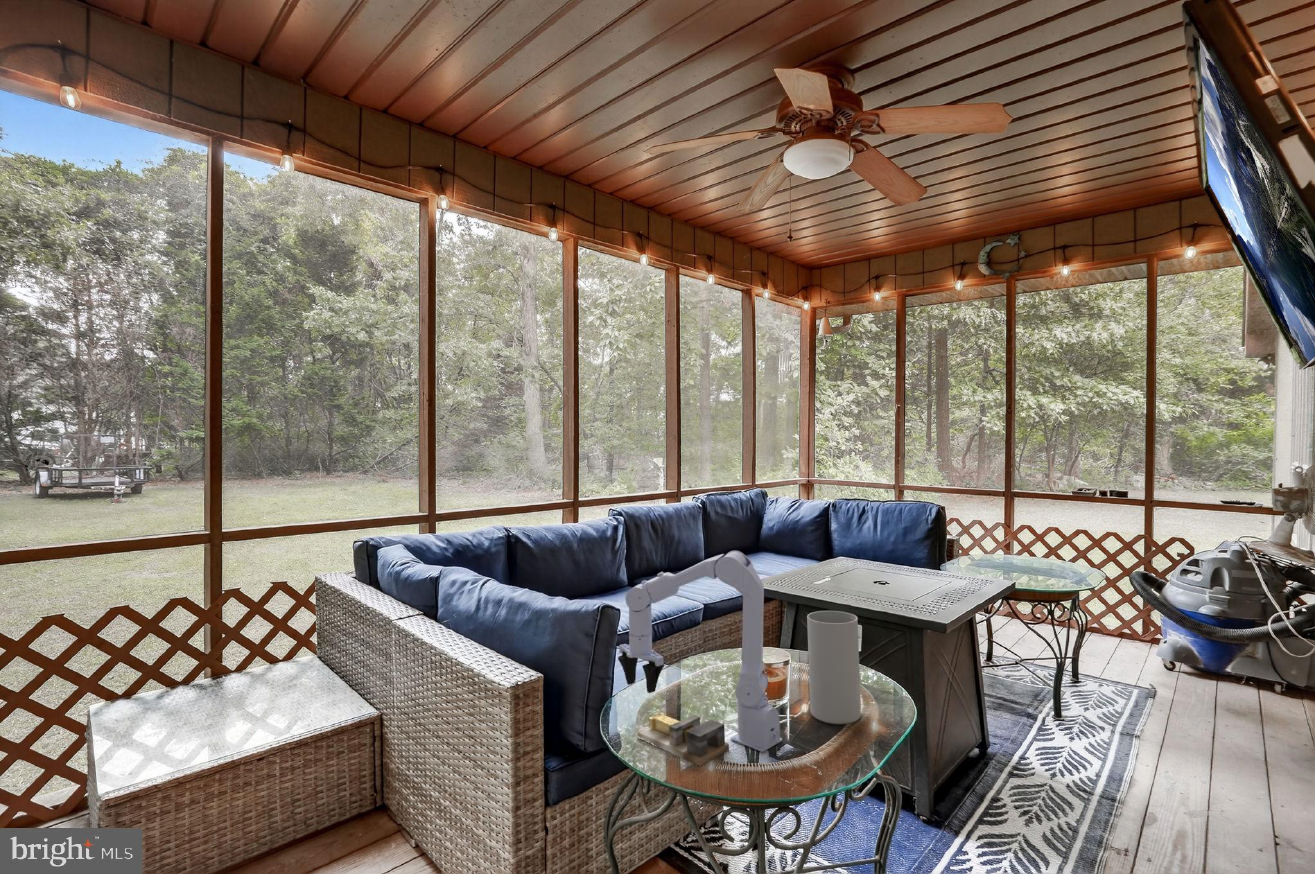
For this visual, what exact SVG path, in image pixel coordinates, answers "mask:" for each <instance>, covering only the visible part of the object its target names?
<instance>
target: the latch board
mask: <svg viewBox="0 0 1315 874" xmlns="http://www.w3.org/2000/svg"><path fill="white" fill-rule="evenodd" d="M678 721H679V722H677V723H674V724H672V725H670V726H669V735H668V734H666V733H663V732H661V731H658V730H656V729H653V730H652V729H649V726H648V727H646V728H644V729H642V730H640V731H637V737H638V736H639V737H640V738H643V739H644V740H646V741H649V742H650V743H653V744H654V745H656V746H658V747H661V748H662V749H664V750H663V751H665V750H667V751H669V752H671V753H672V755H674V754H676V755H677V756H676V755H675V756H676V757H678V756H679V757H678V758H681V759H682V758H683V759H682V760H685V761H687V762H689V761H690V763H692V764H694V763H695V764H694V765H696V766H698V765H699V766H698V767H702V766H703V765H705V764H707V763H708V762H710V761H712V760H714V759H716V758H718V757H720V756H722V755H723V754H724V753H727V752H728V751H730V743H729V742H726V738H725V736H726V734H725V724H724V723H723V722H719V721H716V720H714V719H709V720H707V721H704V722H703V723H701V716H699V715H696V714H691V715H690V716H688V717H685V718H684V719H682V720H678ZM689 726H693V727H694V728H692V729H690V730H688V731H686V733H687V742H684V741H683V729H685V728H687V727H689ZM654 745H653V746H654ZM656 746H655V747H656ZM658 747H657V748H658ZM662 749H661V750H662ZM667 751H666V752H667ZM669 752H668V753H669ZM671 753H670V754H671Z"/></svg>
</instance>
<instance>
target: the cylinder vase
mask: <svg viewBox="0 0 1315 874" xmlns="http://www.w3.org/2000/svg"><path fill="white" fill-rule="evenodd" d="M806 618H807V621H806V622H807V647H808V649H807V650H808V651H807V654H808V682H809V686H808V687H809V709H810V714H811V715H812V717H814V718H815V719H816V720H819V722H823V723H826V724H832V725H847V724H853V723H854V722H857V721H858V720H859V719H860V718H861V714H862V708H861V680H860V679H861V677H860V654H859V653H860V651H859V650H860V649H859V648H860V647H859V623H858V616H857V615H855V614H853V613H849V612H846V611H838V610H818V611H814V612H810V613H809V614H807V616H806Z"/></svg>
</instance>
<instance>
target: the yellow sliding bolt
mask: <svg viewBox="0 0 1315 874" xmlns="http://www.w3.org/2000/svg"><path fill="white" fill-rule="evenodd" d="M679 721H680V720H678V719H675V718H673V717H670V716H667V715H666V713H664V712H659V713H657V714H654V715H652V716H650V717H648V727H649V729H652V730H653V729H656V730H658V731H661V732H663V733H666V734H668V735H669V726H670V725H672V724H674V723H677V722H679ZM692 728H694V727H693V726H689V727H687V728H685V729H683V741H684V742H687V733H686V731H688V730H690V729H692Z"/></svg>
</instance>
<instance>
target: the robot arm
mask: <svg viewBox="0 0 1315 874" xmlns="http://www.w3.org/2000/svg"><path fill="white" fill-rule="evenodd" d="M656 575H657V576H655V577H653V578H651V579H649V580H646V579H644V580H642V581H641V582H640V583H639V584H637V585H635V586H634V587H632V588H630V589H629V590H628V591H627V592H626V595H625V597H624V598H625V605H626V606H627V608H628V639H629V641H628V643H629V644H627V643H623V644H619V646H618V647H619V649H618V653H619V654H621V655H619V656H618V657H617V660H618V661H619V663H620V665H621V668H622V670H623V673H624V678H625V681H626V684H627V685H628V686H630V685H633V684H635V683H636V679H637V677H636V675H637V664H638V660H643V661H645V662H648V663H645V664H644V665H641V667H642V669H643V671H644V672H643V673H644V675H645V685H646V691H647V693H648V694H651V693H654V692H656V688H657V684H658V681H659V677H660V675H661V673H662V670H663V669H664V667H665V663H664V656H662V655H661V654H659V653H658V652H656V651H655V650H653V631H652V629H653V624H652V623H653V622H652V621H653V620H652V604H656V603H659V602H660V601H661V602H662V601H663V600H666V599H668V598H670V597H672V596H675V595H677V594H678V593H679V589H680V587H682V586H685V585H688V584H690V583H692V582H694V581H697V580H700V579H702V578H704V577H707V578H709V579H711V580H716V579H717V578H718V579H719V581H721V583H723V584H725V585H727V586H730V587H731V588H734V589H735V590H736V591H737V592H738V593H739V594H741V596H742V630H741V631H742V638H741V639H742V641H741V642H742V643H741V644H742V645H741V648H742V649H741V666H740V671H739V681H738V683H736V686H735V692H734V693H735V696H736V699H737V704H736V705H737V728H738V730H737V732H738V733H736V734H735V735H732V736H731V737H730V740H731V741H733V742H735V743H739V744H740V745H744V746H746V747H749V748H751V749H754V750H757V751H759V752H761V753H763V752H765V751H767V750H768V749H770V748H772V747H773V746H775V745H778V744H779V743H780V742H782V741H783V738H782V737H781V726H780V724H781V723H780V722H781V721H780V718H781V717H780V712H779V711H778V709H777V708H775V707H773V706H772V705H771V704H770V703H769V698H768V697H767V695H766V693H765V691H766V689H767V688H768V686H769V678H768V675H767V674H766V670H765V662H764V659H763V658H764V657H763V653H764V611H765V610H764V609H765V608H764V603H765V599H764V598H765V597H764V596H765V588H764V587H765V586H764V583H763V581H762V579H761V578H760V577H759V575H758V573H757V571H756V569H755V568H754V565H753V562H752V560H751V558H749V557H748V556H746V555H745V554H744V553H743V552H741V551H740V550H731V551H729V552H727V553H726V554H725V553H722V554H718V555H715V556H713V557H710V558H706V559H705V560H703V561H701V562H698V563H697V564H694V565H693V566H690V567H688V568H686V569H684V570H682V571H679V572H678V573H676V574H674V573H671V572H669V571H668V572H663V571H661V572H659V573H657V574H656Z"/></svg>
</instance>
